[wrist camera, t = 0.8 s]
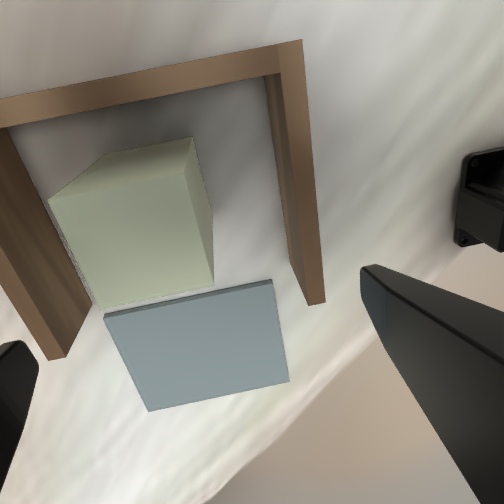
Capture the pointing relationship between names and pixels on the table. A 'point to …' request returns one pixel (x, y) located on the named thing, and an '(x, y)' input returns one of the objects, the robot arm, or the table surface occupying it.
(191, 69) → the open frame
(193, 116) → the table surface
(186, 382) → the mat
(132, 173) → the block
